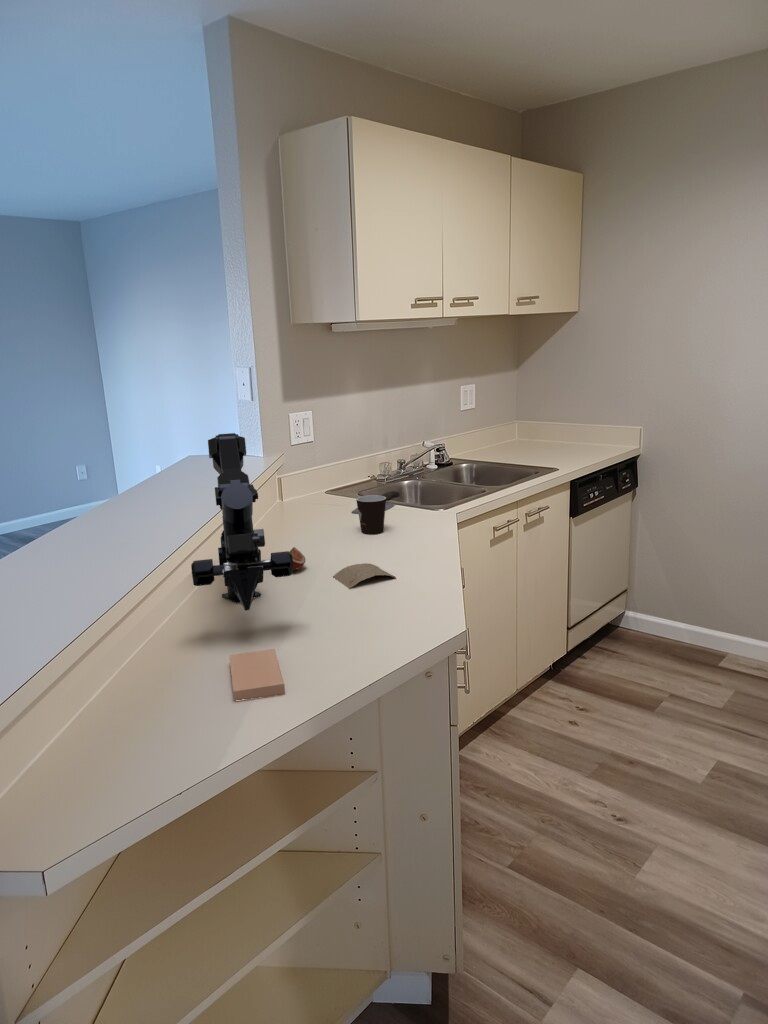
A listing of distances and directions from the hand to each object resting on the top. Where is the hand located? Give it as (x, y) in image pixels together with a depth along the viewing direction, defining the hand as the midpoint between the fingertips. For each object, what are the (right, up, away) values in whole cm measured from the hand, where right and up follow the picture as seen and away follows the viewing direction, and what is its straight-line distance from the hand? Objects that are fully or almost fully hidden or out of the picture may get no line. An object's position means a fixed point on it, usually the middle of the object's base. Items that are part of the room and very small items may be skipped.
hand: (247, 609), depth 134 cm
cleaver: (+24, +20, +111) cm, 115 cm away
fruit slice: (+3, +3, +45) cm, 45 cm away
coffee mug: (+22, +12, +79) cm, 83 cm away
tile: (+2, -8, -5) cm, 10 cm away
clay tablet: (+21, +2, +38) cm, 43 cm away
